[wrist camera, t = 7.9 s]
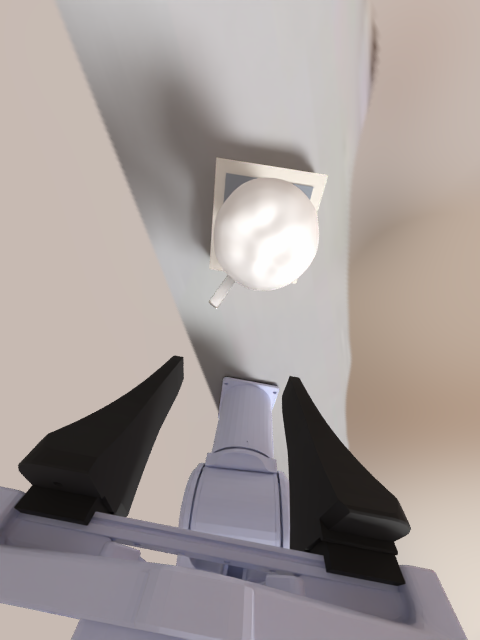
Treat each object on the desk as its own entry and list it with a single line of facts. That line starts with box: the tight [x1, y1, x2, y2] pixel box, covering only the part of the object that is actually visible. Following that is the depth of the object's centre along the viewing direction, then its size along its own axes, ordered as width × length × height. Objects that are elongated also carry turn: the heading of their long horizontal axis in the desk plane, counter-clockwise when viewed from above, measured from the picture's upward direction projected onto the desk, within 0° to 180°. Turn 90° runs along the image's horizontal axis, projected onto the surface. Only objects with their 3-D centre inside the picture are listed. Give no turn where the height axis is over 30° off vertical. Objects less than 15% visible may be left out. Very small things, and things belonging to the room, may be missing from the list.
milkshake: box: [209, 178, 319, 308], centre depth 11 cm, size 4×5×10 cm
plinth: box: [209, 157, 328, 284], centre depth 17 cm, size 8×8×3 cm
